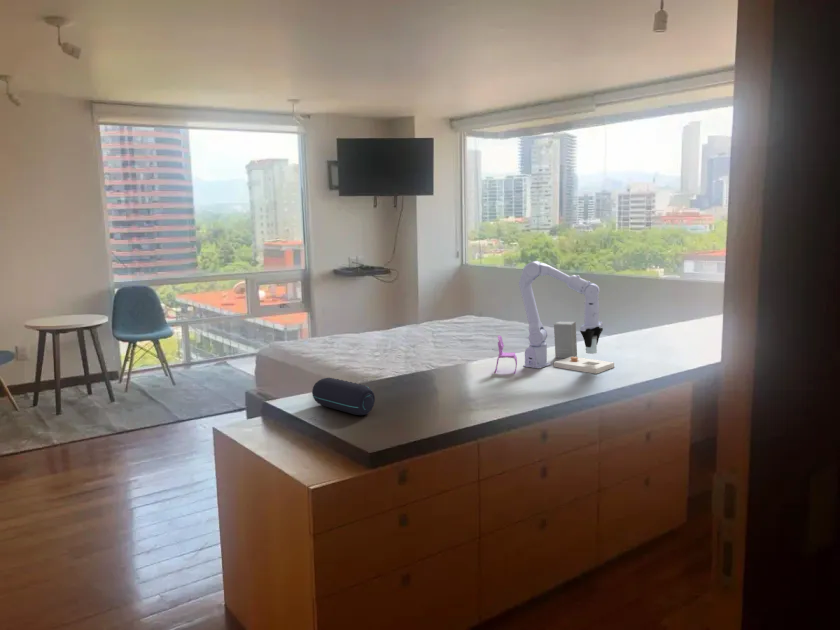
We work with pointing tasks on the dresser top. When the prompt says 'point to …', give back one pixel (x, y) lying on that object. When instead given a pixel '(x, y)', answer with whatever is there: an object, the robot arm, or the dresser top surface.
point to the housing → (584, 365)
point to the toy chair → (504, 355)
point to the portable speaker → (344, 396)
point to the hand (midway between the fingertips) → (591, 346)
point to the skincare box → (565, 339)
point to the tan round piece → (574, 359)
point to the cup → (592, 346)
